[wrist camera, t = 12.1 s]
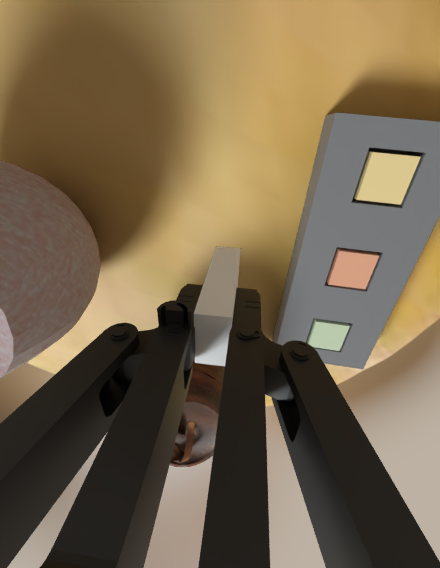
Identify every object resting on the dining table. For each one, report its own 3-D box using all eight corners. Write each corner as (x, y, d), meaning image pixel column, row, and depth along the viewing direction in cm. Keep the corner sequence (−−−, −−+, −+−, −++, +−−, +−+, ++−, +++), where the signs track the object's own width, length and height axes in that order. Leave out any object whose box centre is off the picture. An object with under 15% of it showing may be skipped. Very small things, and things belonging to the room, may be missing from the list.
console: (325, 115, 30) (335, 112, 26) (454, 127, 29) (485, 125, 25) (272, 337, 46) (273, 355, 42) (353, 349, 45) (362, 369, 41)
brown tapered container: (202, 395, 56) (182, 494, 41) (125, 342, 51) (68, 431, 36) (264, 355, 49) (268, 457, 33) (181, 287, 44) (138, 370, 28)
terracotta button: (332, 241, 36) (339, 251, 33) (368, 245, 35) (379, 255, 32) (322, 272, 38) (328, 284, 35) (356, 277, 38) (365, 289, 35)
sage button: (311, 307, 41) (315, 321, 38) (343, 312, 41) (349, 326, 38) (304, 331, 43) (307, 346, 40) (333, 336, 43) (339, 351, 40)
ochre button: (360, 150, 30) (372, 152, 27) (404, 154, 30) (420, 156, 27) (347, 193, 32) (356, 199, 29) (387, 198, 32) (400, 204, 29)
